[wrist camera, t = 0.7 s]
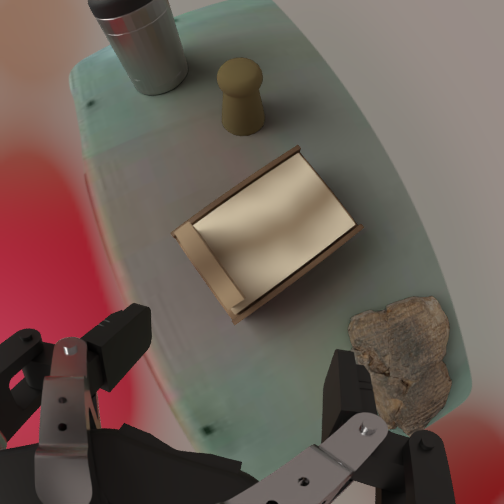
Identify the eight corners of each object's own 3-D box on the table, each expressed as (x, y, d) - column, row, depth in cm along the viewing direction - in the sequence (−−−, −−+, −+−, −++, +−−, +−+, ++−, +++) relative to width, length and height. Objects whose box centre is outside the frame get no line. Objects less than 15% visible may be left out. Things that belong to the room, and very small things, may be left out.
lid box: (187, 244, 37) (170, 232, 30) (290, 172, 38) (297, 144, 30) (239, 317, 36) (234, 325, 28) (343, 240, 37) (364, 227, 29)
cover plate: (181, 237, 30) (167, 227, 25) (297, 156, 31) (303, 134, 26) (235, 314, 29) (231, 318, 24) (352, 226, 30) (368, 214, 25)
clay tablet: (447, 408, 34) (432, 285, 36) (463, 419, 29) (451, 285, 31) (365, 444, 34) (341, 316, 36) (376, 461, 29) (352, 321, 32)
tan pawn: (254, 142, 39) (252, 94, 28) (214, 127, 39) (201, 79, 29) (271, 109, 40) (275, 58, 29) (233, 96, 40) (226, 45, 29)
